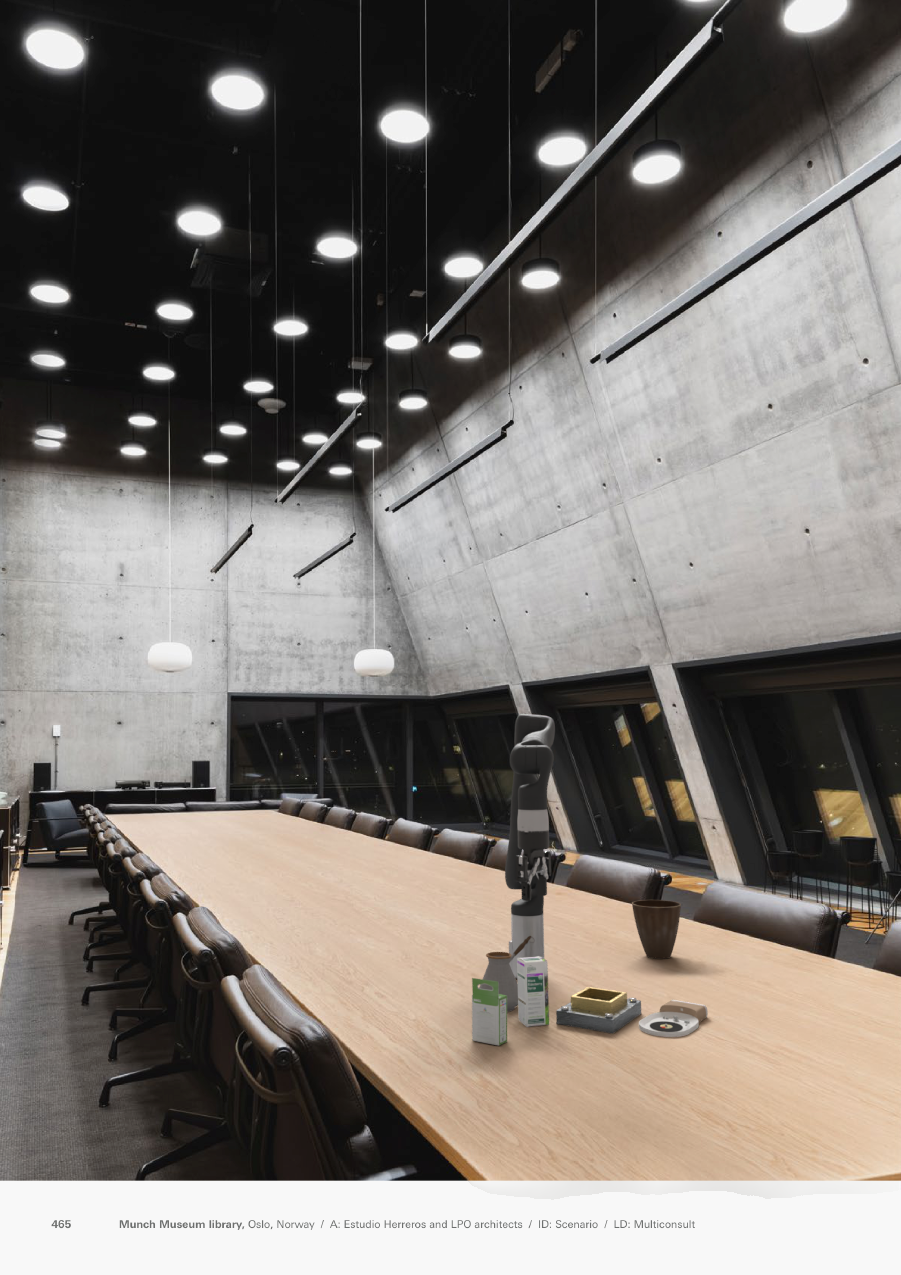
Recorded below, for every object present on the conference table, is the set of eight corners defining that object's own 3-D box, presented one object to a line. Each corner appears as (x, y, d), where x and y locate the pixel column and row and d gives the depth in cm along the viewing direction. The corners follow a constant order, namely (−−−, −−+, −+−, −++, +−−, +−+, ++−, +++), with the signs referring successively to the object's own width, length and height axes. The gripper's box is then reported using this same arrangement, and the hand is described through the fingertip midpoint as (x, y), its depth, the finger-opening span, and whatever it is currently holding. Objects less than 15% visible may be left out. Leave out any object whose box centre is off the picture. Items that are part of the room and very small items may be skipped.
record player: (711, 1006, 209) (679, 1028, 193) (712, 1020, 208) (679, 1043, 192) (665, 998, 216) (630, 1019, 200) (666, 1011, 215) (630, 1033, 199)
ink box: (508, 1042, 192) (507, 978, 194) (499, 1047, 189) (498, 982, 191) (481, 1036, 196) (480, 974, 198) (471, 1041, 193) (471, 977, 194)
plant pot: (623, 954, 276) (622, 901, 278) (662, 949, 282) (660, 898, 284) (654, 964, 262) (652, 908, 265) (693, 958, 269) (691, 905, 271)
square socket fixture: (556, 1024, 205) (556, 999, 205) (587, 1005, 220) (587, 982, 220) (613, 1033, 197) (612, 1008, 198) (641, 1013, 212) (640, 990, 213)
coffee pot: (505, 1018, 210) (505, 952, 212) (467, 1009, 217) (466, 946, 219) (551, 998, 227) (550, 938, 229) (514, 991, 233) (513, 932, 235)
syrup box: (526, 1027, 202) (525, 962, 204) (517, 1020, 208) (516, 956, 210) (549, 1025, 203) (548, 960, 205) (540, 1018, 209) (539, 955, 211)
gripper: (532, 826, 220) (533, 893, 217) (505, 830, 208) (506, 901, 205) (559, 827, 216) (561, 895, 213) (534, 831, 204) (535, 903, 201)
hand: (534, 898), depth 209 cm, fingers open, 8 cm apart
